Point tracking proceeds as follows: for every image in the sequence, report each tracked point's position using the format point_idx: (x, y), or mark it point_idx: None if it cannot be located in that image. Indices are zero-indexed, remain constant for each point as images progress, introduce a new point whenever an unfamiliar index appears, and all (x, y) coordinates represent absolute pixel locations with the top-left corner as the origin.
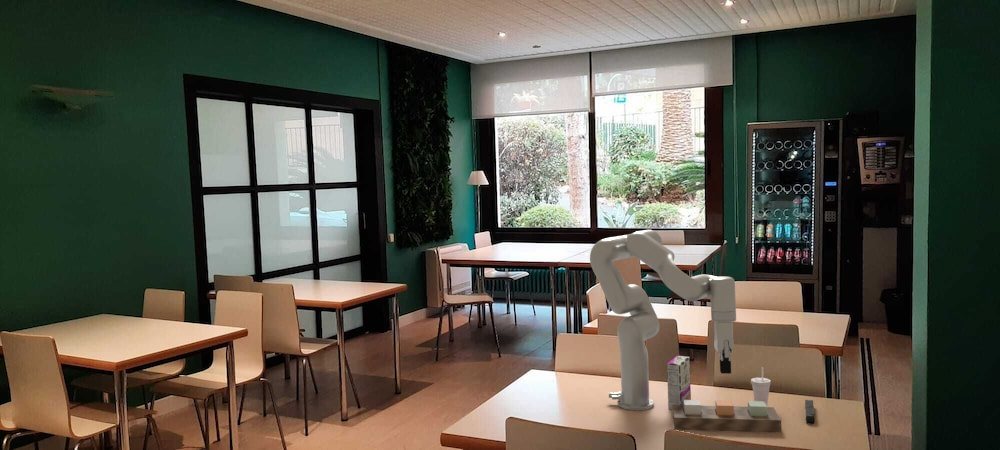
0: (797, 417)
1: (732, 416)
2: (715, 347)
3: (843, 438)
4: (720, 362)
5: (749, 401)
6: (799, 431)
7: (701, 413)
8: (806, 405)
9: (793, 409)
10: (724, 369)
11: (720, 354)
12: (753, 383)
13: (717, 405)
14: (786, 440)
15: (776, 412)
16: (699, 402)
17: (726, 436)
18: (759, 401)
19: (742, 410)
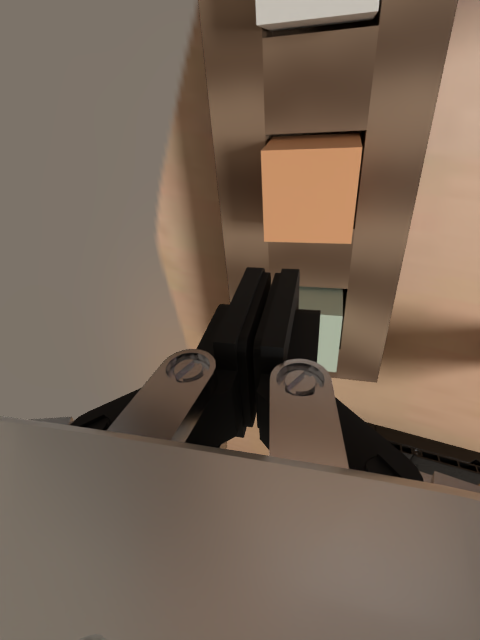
0: (388, 410)
1: (254, 214)
2: (165, 508)
3: (233, 439)
4: (219, 331)
5: (337, 321)
6: None
7: (308, 33)
8: (428, 461)
9: (471, 424)
10: (218, 317)
11: (270, 423)
12: None
13: (262, 152)
14: (191, 336)
15: None
16: (318, 11)
17: (178, 159)
18: (336, 357)
19: (340, 270)
